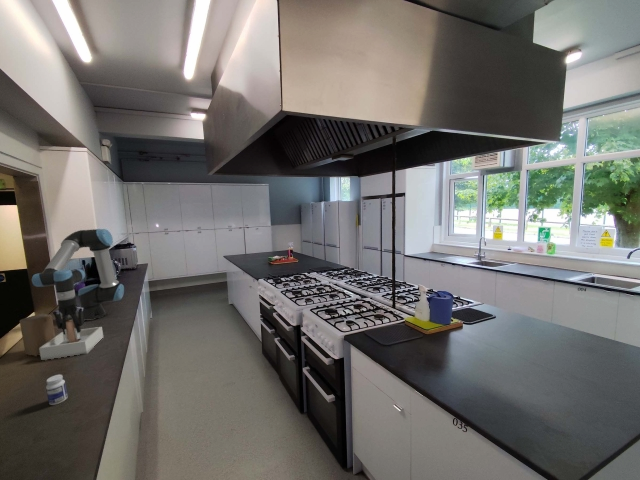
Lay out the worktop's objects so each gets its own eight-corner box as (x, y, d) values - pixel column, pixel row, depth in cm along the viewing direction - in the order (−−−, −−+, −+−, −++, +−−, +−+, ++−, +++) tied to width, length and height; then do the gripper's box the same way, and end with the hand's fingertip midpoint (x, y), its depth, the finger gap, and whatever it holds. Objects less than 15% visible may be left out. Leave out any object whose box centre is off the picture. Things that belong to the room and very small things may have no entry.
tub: (63, 343, 168) (61, 332, 167) (103, 337, 173) (101, 326, 172) (41, 361, 149) (39, 348, 148) (86, 353, 154) (85, 341, 153)
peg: (71, 343, 162) (67, 320, 160) (80, 342, 163) (76, 319, 161) (67, 347, 158) (63, 323, 156) (76, 345, 159) (72, 321, 158)
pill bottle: (56, 396, 119) (52, 374, 118) (71, 395, 119) (67, 372, 118) (44, 406, 113) (40, 382, 112) (60, 404, 114) (56, 381, 112)
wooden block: (58, 348, 162) (52, 314, 160) (36, 357, 153) (29, 321, 150) (47, 346, 166) (41, 312, 163) (24, 355, 156) (18, 319, 154)
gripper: (43, 302, 151) (50, 344, 154) (81, 298, 156) (87, 339, 159) (52, 298, 159) (59, 338, 162) (88, 294, 163) (94, 333, 166)
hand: (73, 338), depth 160 cm, fingers closed on peg, 4 cm apart
